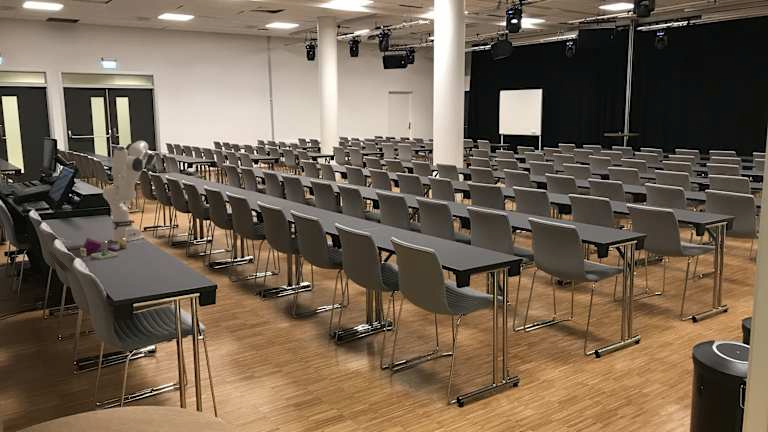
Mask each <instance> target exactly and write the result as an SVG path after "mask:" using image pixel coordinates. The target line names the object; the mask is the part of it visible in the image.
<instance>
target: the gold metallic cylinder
mask: <svg viewBox="0 0 768 432" xmlns="http://www.w3.org/2000/svg"><path fill="white" fill-rule="evenodd" d="M126 248H127V241H126V238H119V241H118V249H119V250H126Z"/></svg>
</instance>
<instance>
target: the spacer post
mask: <svg viewBox="0 0 768 432" xmlns="http://www.w3.org/2000/svg"><path fill="white" fill-rule="evenodd" d="M99 242H100V243H101V248H100V252H101V256H105V255H108V251H109V250H108V245H109V244H108V241H107V240H104V241H103V240H102V241H99Z"/></svg>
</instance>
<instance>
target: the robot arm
mask: <svg viewBox="0 0 768 432" xmlns="http://www.w3.org/2000/svg"><path fill="white" fill-rule="evenodd" d="M156 159H157V155H156V153H154V151H151V150H149V144H148V143H147V142H146V141H144V140H138V141H135V142H133V143H128V144H127V145H126V146H125V148H116V149H115V150H114V153H113V157H112V166H111V173H110V174H111V176H112V178H113V180H112V181H113V182H112V183H113V184H112V185H109V186H106V187H104V188H103V190H102V196H103V198H104V199H105V200H106V201H107V203H108V204H109V206H110V209H111V215H112V221H111V222H112V223H111V224H112V237H111V238H112V239H111V241H112V242H119V238H126V242H132V240H133V241H136V240H141V239H142V240H143V239H145V238H146V237H145V235H142V233H141V232H142V231H141V230H140V228H138V227H136V226H135V225H133V224H135V220H132V219H130V210H129V207H127V206H126V205H125V203H128V202H133V201H135V199H136V197H137V192H136V190H135V185H136V183H137V181H138V179H139V178H140V176H141V174H142V172H143V171H144V169H145V168H147V167H150V166H153V164H154V163H155V162H156Z"/></svg>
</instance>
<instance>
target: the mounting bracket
mask: <svg viewBox="0 0 768 432" xmlns="http://www.w3.org/2000/svg"><path fill="white" fill-rule="evenodd" d="M100 242H101V241H98V240H95V239H92V238H89V237H86V240H85V242H84V245H83V248H85V249H86V255H87V254H88V255H90V256H91V254H94V253H98V251H99V250H100V249H101V243H100ZM107 245H108V251H111V252H115V250H116V247H115V246H112V245H111V244H110V245H109V244H107Z"/></svg>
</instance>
